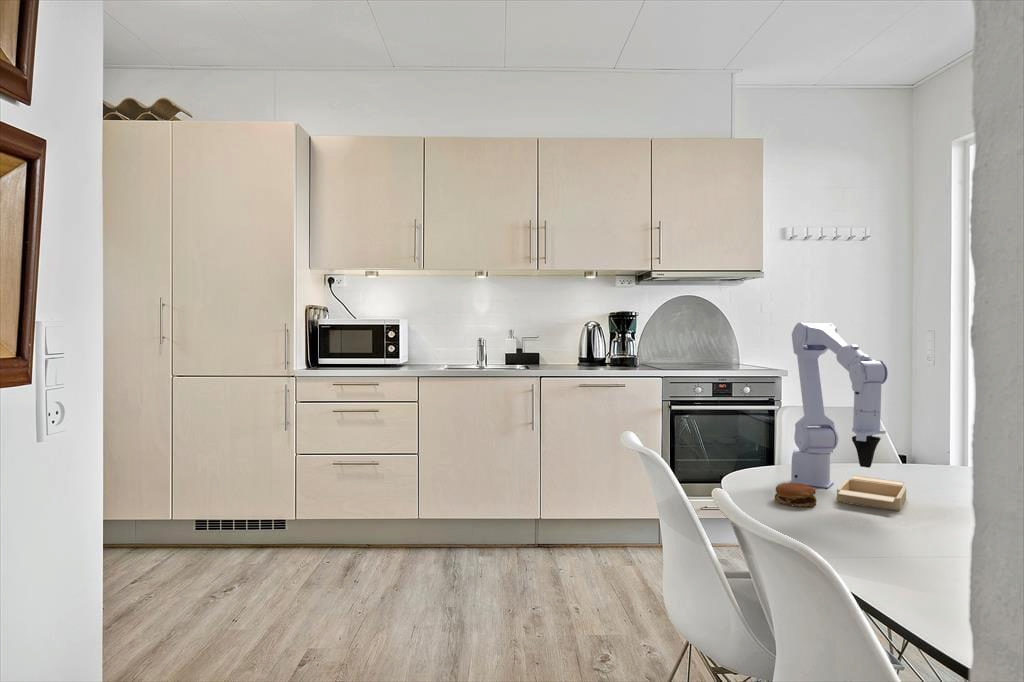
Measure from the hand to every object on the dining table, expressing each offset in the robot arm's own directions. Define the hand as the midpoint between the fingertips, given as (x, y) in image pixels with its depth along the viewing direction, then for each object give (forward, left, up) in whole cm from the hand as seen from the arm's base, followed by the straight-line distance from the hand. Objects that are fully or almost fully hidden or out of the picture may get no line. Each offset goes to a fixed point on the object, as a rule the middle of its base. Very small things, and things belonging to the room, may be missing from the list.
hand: (865, 466), depth 159 cm
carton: (+1, +7, -10) cm, 12 cm away
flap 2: (+1, 0, -7) cm, 7 cm away
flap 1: (+1, +14, -7) cm, 15 cm away
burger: (-14, -7, -10) cm, 19 cm away
